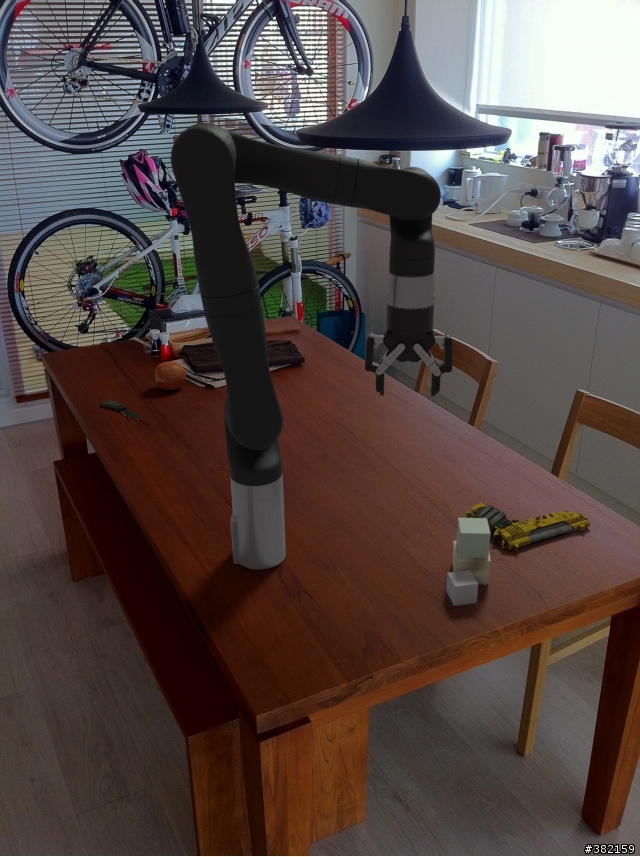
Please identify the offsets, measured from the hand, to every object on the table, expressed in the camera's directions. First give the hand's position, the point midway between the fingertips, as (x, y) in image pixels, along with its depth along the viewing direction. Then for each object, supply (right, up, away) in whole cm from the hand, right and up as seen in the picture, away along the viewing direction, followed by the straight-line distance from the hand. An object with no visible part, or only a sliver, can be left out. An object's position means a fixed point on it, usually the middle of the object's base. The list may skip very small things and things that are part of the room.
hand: (407, 394), depth 132 cm
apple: (-57, +5, +90) cm, 107 cm away
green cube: (+12, -27, +6) cm, 30 cm away
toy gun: (+26, -25, +23) cm, 43 cm away
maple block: (+12, -32, +8) cm, 35 cm away
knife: (-63, -4, +72) cm, 96 cm away
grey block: (+9, -34, +2) cm, 36 cm away
